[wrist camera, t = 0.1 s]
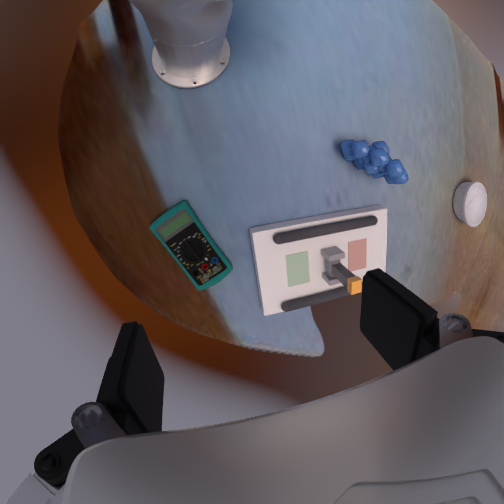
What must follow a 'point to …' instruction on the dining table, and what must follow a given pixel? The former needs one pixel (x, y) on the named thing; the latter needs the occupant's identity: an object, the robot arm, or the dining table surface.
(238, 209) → the dining table surface
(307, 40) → the dining table surface
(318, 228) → the pair of dark bars
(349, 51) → the dining table surface
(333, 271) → the breaker lever
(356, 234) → the switch base plate
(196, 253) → the digital multimeter
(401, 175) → the grapes
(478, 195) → the ramekin
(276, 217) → the dining table surface
